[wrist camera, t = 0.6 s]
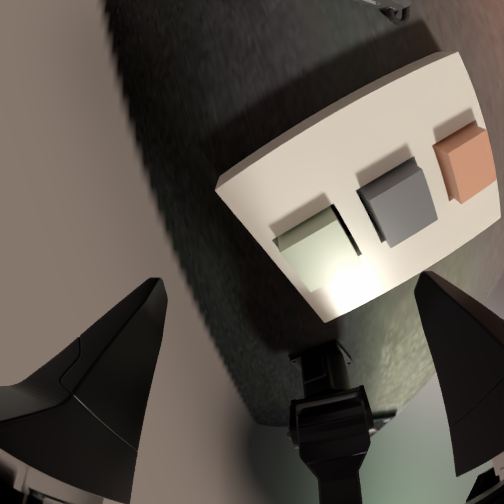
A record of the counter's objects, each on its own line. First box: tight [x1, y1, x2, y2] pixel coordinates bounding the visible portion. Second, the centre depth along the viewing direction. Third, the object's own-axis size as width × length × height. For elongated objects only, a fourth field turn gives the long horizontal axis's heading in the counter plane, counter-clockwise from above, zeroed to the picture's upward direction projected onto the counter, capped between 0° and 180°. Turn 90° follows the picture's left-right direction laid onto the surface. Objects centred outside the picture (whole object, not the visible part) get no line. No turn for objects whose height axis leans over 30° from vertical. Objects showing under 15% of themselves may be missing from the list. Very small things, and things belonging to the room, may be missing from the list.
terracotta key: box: [432, 123, 497, 204], centre depth 16 cm, size 4×4×4 cm
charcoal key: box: [357, 160, 438, 248], centre depth 19 cm, size 4×4×4 cm
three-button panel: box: [215, 52, 501, 323], centre depth 20 cm, size 16×21×3 cm
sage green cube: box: [278, 206, 362, 292], centre depth 21 cm, size 4×4×4 cm
